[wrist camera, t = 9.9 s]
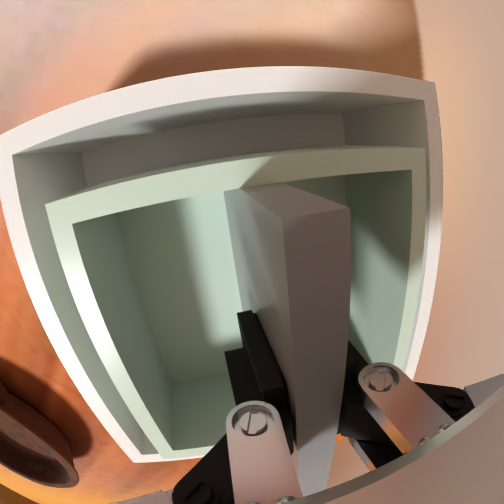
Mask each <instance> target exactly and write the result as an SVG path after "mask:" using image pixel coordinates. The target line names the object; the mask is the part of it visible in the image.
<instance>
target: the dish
mask: <svg viewBox="0 0 504 504" xmlns="http://www.w3.org/2000/svg"><path fill="white" fill-rule="evenodd" d="M0 464H2V465H3V466H5V467H6V468H8V469H10V470H11V471H13V472H15V473H17V474H19V475H21V476H23V477H25V478H27V479H29V480H31V481H33V482H36V483H39V484H42V485H45V486H50V487H56V488H69V487H74V486H75V485H77V484H78V482H79V476H78V473H77V471H76V469H75V468H74V463H73V458H72V453H71V449H70V446H69V444H68V442H67V440H66V439H65V437H64V436H63V434H62V433H61V432H60V431H59V430H58V429H57V428H56V427H55V426H54V425H53V424H52V423H51V422H50V421H49V420H47V419H46V418H45V417H44V416H42V415H41V414H40V413H39V412H37V411H36V410H35V409H33V408H32V407H30V406H29V405H27V404H26V403H25V402H23V401H21V400H20V399H18V398H16V397H15V396H13V395H12V394H10V393H8V391H7V390H6V389H5V387H4V386H3V384H2V383H1V381H0Z"/></svg>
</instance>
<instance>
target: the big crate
mask: <svg viewBox="0 0 504 504" xmlns="http://www.w3.org/2000/svg"><path fill="white" fill-rule="evenodd" d="M342 145H373V146H399V147H416V148H425V155H426V223H425V240H424V252H423V262H422V271H421V279H420V287H419V294H418V300H417V306H416V312H415V318H414V323H413V328H412V333H411V338H410V342H409V347H408V351H407V355H406V359H405V363H404V367H403V372H404V373H405V374H406V375H407V376H408V377H409V378H410V379H411V380H413V377H414V374H415V370H416V367H417V364H418V360H419V357H420V352H421V349H422V345H423V341H424V337H425V333H426V329H427V324H428V320H429V315H430V310H431V304H432V299H433V294H434V288H435V281H436V275H437V267H438V259H439V250H440V240H441V227H442V207H443V158H442V140H441V128H440V117H439V109H438V101H437V94H436V88H435V83H433V82H429V81H424V80H420V79H415V78H410V77H405V76H399V75H393V74H387V73H380V72H373V71H365V70H356V69H346V68H333V67H313V66H267V67H247V68H234V69H223V70H214V71H205V72H198V73H191V74H185V75H179V76H173V77H168V78H162V79H157V80H153V81H148V82H144V83H139V84H135V85H131V86H127V87H123V88H119V89H116V90H112V91H109V92H105V93H102V94H99V95H95V96H92V97H89V98H86V99H83V100H80V101H77V102H75V103H72V104H69V105H66V106H64V107H61V108H58V109H56V110H53V111H51V112H48V113H46V114H44V115H41V116H39V117H37V118H34V119H32V120H30V121H28V122H26V123H23V124H21V125H19V126H17V127H15V128H13V129H11V130H9V131H7V132H5V133H3V134H1V135H0V198H1V203H2V208H3V212H4V216H5V220H6V224H7V228H8V232H9V236H10V239H11V243H12V246H13V250H14V253H15V256H16V259H17V262H18V265H19V268H20V271H21V274H22V277H23V279H24V282H25V285H26V287H27V290H28V292H29V295H30V297H31V300H32V302H33V305H34V307H35V309H36V312H37V314H38V316H39V318H40V320H41V323H42V325H43V327H44V329H45V331H46V333H47V335H48V337H49V339H50V341H51V343H52V345H53V347H54V349H55V351H56V353H57V354H58V356H59V358H60V360H61V362H62V363H63V365H64V367H65V369H66V370H67V372H68V374H69V375H70V377H71V379H72V380H73V382H74V384H75V385H76V387H77V388H78V390H79V392H80V393H81V395H82V396H83V398H84V399H85V401H86V402H87V404H88V405H89V406H90V408H91V409H92V411H93V412H94V414H95V415H96V416H97V418H98V419H99V421H100V422H101V423H102V425H103V426H104V427H105V429H106V430H107V431H108V432H109V434H110V435H111V436H112V437H113V439H114V440H115V441H116V442H117V444H118V445H119V446H120V447H121V448H122V450H123V451H124V452H125V453H126V454H127V456H128V457H129V458H130V459H131V460H132V461H133V462H134V463H139V462H160V461H173V460H183V459H192V458H200V457H204V456H205V455H199V456H191V457H181V458H170V459H163V458H162V457H161V455H160V454H159V453H158V451H157V450H156V448H155V447H154V446H153V444H152V443H151V442H150V440H149V439H148V437H147V436H146V434H145V433H144V431H143V430H142V429H141V427H140V426H139V424H138V423H137V421H136V419H135V418H134V416H133V415H132V413H131V412H130V410H129V408H128V407H127V405H126V404H125V402H124V400H123V399H122V397H121V395H120V394H119V392H118V390H117V388H116V387H115V385H114V383H113V381H112V379H111V378H110V376H109V374H108V372H107V370H106V368H105V366H104V364H103V363H102V361H101V359H100V357H99V355H98V353H97V351H96V349H95V346H94V344H93V342H92V340H91V338H90V336H89V334H88V331H87V329H86V327H85V325H84V322H83V320H82V318H81V315H80V313H79V311H78V308H77V306H76V303H75V301H74V298H73V295H72V293H71V290H70V287H69V285H68V282H67V279H66V276H65V273H64V270H63V267H62V264H61V261H60V258H59V255H58V252H57V248H56V245H55V241H54V238H53V234H52V231H51V227H50V223H49V219H48V215H47V211H46V206H45V204H47V203H50V202H52V201H55V200H57V199H60V198H62V197H65V196H67V195H70V194H72V193H75V192H78V191H80V190H83V189H86V188H88V187H91V186H94V185H97V184H100V183H103V182H107V181H111V180H115V179H119V178H123V177H127V176H131V175H135V174H140V173H144V172H148V171H153V170H158V169H162V168H167V167H172V166H177V165H183V164H188V163H193V162H199V161H205V160H211V159H217V158H224V157H230V156H237V155H244V154H252V153H260V152H269V151H278V150H288V149H298V148H310V147H324V146H342Z"/></svg>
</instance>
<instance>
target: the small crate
mask: <svg viewBox="0 0 504 504" xmlns="http://www.w3.org/2000/svg"><path fill="white" fill-rule="evenodd" d="M45 206H46V211H47V215H48V219H49V223H50V227H51V231H52V234H53V238H54V241H55V245H56V248H57V252H58V255H59V258H60V261H61V264H62V267H63V270H64V273H65V276H66V279H67V282H68V285H69V287H70V290H71V293H72V295H73V298H74V301H75V303H76V306H77V308H78V311H79V313H80V315H81V318H82V320H83V322H84V325H85V327H86V329H87V331H88V334H89V336H90V338H91V340H92V342H93V344H94V346H95V349H96V351H97V353H98V355H99V357H100V359H101V361H102V363H103V364H104V366H105V368H106V370H107V372H108V374H109V376H110V378H111V379H112V381H113V383H114V385H115V387H116V388H117V390H118V392H119V394H120V395H121V397H122V399H123V400H124V402H125V404H126V405H127V407H128V408H129V410H130V412H131V413H132V415H133V416H134V418H135V419H136V421H137V423H138V424H139V426H140V427H141V429H142V430H143V431H144V433H145V434H146V436H147V437H148V439H149V440H150V442H151V443H152V444H153V446H154V447H155V448H156V450H157V451H158V453H159V454H160V455H161V457H162V458H163V459H170V458H181V457H191V456H199V455H206V454H207V453H208V452H209V451H210V450H211V449H212V448H213V447H214V446H215V445H216V443H217V442H218V441H219V440H220V439H221V438H222V437H223V436H224V435H225V434H226V433H227V432H226V418H227V416H228V414H229V412H230V411H231V410H232V409H233V408H234V407H236V404H235V400H234V395H233V391H232V386H231V382H230V377H229V373H228V368H227V363H226V359H225V354H224V351H229V350H234V349H239V348H243V345H242V339H241V334H240V329H239V324H238V318H237V313H238V312H243V311H247V310H252V312H253V313H256V314H257V316H258V318H259V321H260V323H261V325H262V328H263V330H264V332H265V334H266V337H267V339H268V341H269V344H270V346H271V348H272V350H273V353H274V355H275V357H276V359H277V362H278V364H279V366H280V368H281V371H282V373H283V375H284V378H285V380H286V384H287V388H288V397H289V410H290V418H291V420H292V429H293V446H294V452H293V454H292V455H291V458H292V461H293V465H294V468H295V472H296V475H297V478H298V482H299V485H300V489H301V492H302V495H303V497H305V496H308V495H311V494H314V493H317V492H320V491H323V490H326V486H327V482H328V478H329V473H330V468H331V463H332V458H333V453H334V447H335V442H336V436H337V430H338V424H339V417H340V410H341V403H342V395H343V387H344V378H345V369H346V358H347V347H348V340H349V341H350V342H351V343H352V345H353V346H354V347H355V348H356V349H357V351H358V352H359V353H360V354H361V356H362V357H363V358H364V359H365V360H366V362H367V363H368V364H372V363H376V362H386V363H390V364H393V365H395V366H397V367H398V368H400V369H401V370H402V371H403V367H404V363H405V359H406V355H407V351H408V347H409V342H410V338H411V333H412V328H413V323H414V318H415V312H416V306H417V300H418V294H419V287H420V279H421V271H422V262H423V252H424V240H425V223H426V155H425V148H416V147H399V146H373V145H342V146H324V147H310V148H298V149H288V150H278V151H269V152H260V153H252V154H244V155H237V156H230V157H224V158H217V159H211V160H205V161H199V162H193V163H188V164H183V165H177V166H172V167H167V168H162V169H158V170H153V171H148V172H144V173H140V174H135V175H131V176H127V177H123V178H119V179H115V180H111V181H107V182H103V183H100V184H97V185H94V186H91V187H88V188H86V189H83V190H80V191H78V192H75V193H72V194H70V195H67V196H65V197H62V198H60V199H57V200H55V201H52V202H50V203H47V204H45Z"/></svg>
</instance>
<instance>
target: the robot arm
mask: <svg viewBox="0 0 504 504" xmlns="http://www.w3.org/2000/svg"><path fill="white" fill-rule="evenodd" d="M237 318H238V324H239V329H240V334H241V339H242V345H243V348H239V349H234V350H229V351H224V354H225V359H226V363H227V368H228V373H229V377H230V382H231V386H232V391H233V395H234V400H235V404H236V407H234V408H233V409H232V410H231V411H230V412H229V414H228V416H227V418H226V432H227V433H226V434H225V435H224V436H223V437H222V438H221V439H220V440H219V441H218V442H217V443H216V445H215V446H214V447H213V448H212V449H211V450H210V451H209V452H208V453H207V454H206V455H205V456H204V457H203V458H202V459H201V460H200V461H199V462H198V463H197V464H196V465H195V466H194V467H193V468H192V469H191V470H190V471H189V472H188V473H187V474H186V475H185V476H184V477H183V478H182V479H181V480H180V481H179V482H178V483H177V484H176V486H175V487H174V489H171V490H168V491H165V492H163V491H162V490H160V491H156V492H153V493H150V494H146V495H143V496H139V497H136V498H132V499H128V500H124V501H120V502H115V503H111V504H504V374H500V375H498V376H495V377H492V378H489V379H487V380H484V381H481V382H478V383H475V384H472V385H469V386H466V387H464V389H463V390H461V389H459V388H455V387H447V386H439V385H432V384H425V383H418V382H413V381H412V380H411V379H410V378H409V377H408V376H407V375H406V374H405V373H404V372H403V371H402V370H401V369H400V368H398V367H397V366H395V365H393V364H390V363H386V362H376V363H372V364H368V363H367V362H366V360H365V359H364V358H363V357H362V356H361V354H360V353H359V352H358V351H357V349H356V348H355V347H354V346H353V345H352V343H351V342H350V341H349V340H348V347H347V358H346V369H345V378H344V387H343V395H342V403H341V410H340V417H339V424H338V430H337V434H339V433H341V435H342V436H346V437H348V439H349V441H350V444H351V445H352V446H353V448H354V449H355V451H356V452H357V454H358V455H359V456H360V458H361V459H362V461H363V462H364V464H365V465H366V467H367V468H368V469H369V471H370V472H368V473H366V474H364V475H362V476H359V477H357V478H355V479H352V480H350V481H347V482H345V483H342V484H340V485H337V486H335V487H332V488H329V489H326V490H323V491H320V492H317V493H314V494H311V495H308V496H305V497H303V495H302V492H301V489H300V485H299V482H298V478H297V475H296V472H295V468H294V465H293V461H292V458H291V455H292V454H293V452H294V446H293V429H292V420H291V418H290V410H289V397H288V388H287V384H286V380H285V378H284V375H283V373H282V371H281V368H280V366H279V364H278V362H277V359H276V357H275V355H274V353H273V350H272V348H271V346H270V344H269V341H268V339H267V337H266V334H265V332H264V330H263V328H262V325H261V323H260V321H259V318H258V316H257V314H256V313H253V312H252V310H247V311H243V312H238V313H237Z"/></svg>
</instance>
